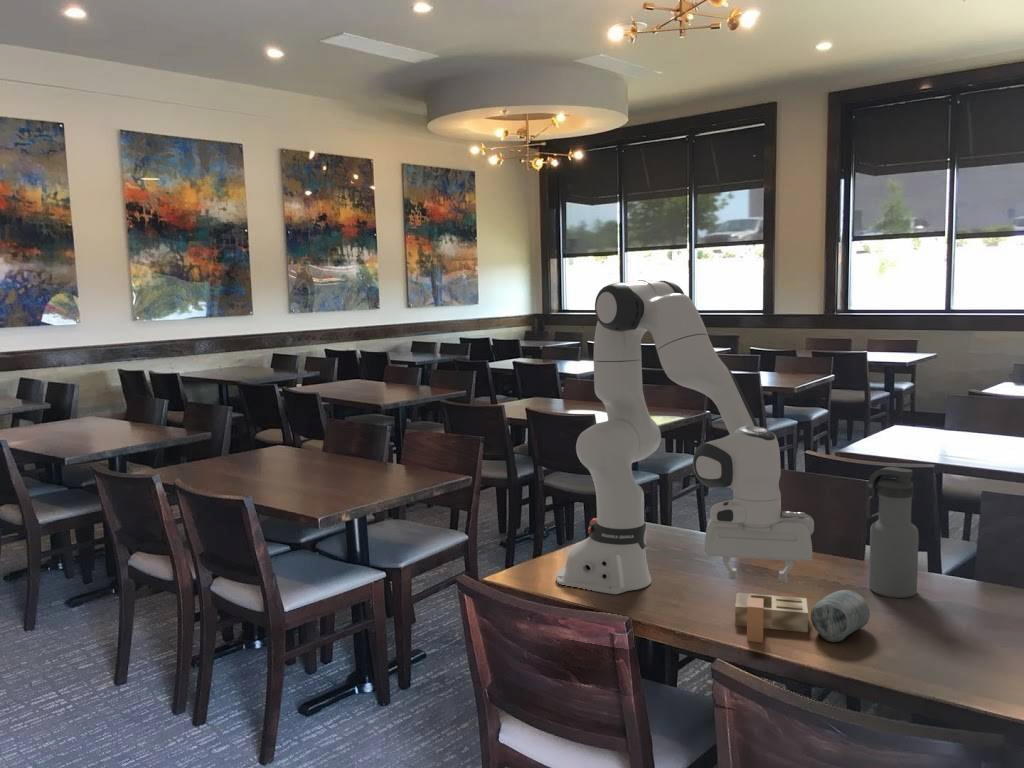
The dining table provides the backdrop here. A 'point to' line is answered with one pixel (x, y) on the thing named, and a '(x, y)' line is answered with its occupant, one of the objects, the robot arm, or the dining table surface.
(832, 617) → the spool
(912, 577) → the water bottle
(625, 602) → the dining table surface
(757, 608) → the orange rectangular block
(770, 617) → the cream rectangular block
